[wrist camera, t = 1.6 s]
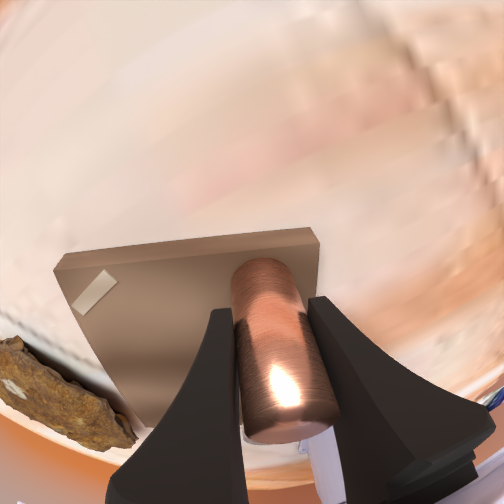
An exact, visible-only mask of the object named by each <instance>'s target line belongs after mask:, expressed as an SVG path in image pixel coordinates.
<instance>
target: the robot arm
mask: <svg viewBox="0 0 504 504" xmlns="http://www.w3.org/2000/svg"><path fill="white" fill-rule="evenodd" d="M307 317H308V320H309V323H310V326H311V328H312V331H313V334H314V337H315V340H316V342H317V345H318V348H319V351H320V354H321V357H322V360H323V362H324V365H325V368H326V371H327V374H328V377H329V380H330V383H331V386H332V389H333V392H334V395H335V398H336V401H337V404H338V407H339V410H340V417H339V419H338V420H337V421H336V423H335V424H334V425H332V426H331V427H330V428H328V429H327V430H325V431H324V432H322V433H320V434H318V435H316V436H313V437H310V438H308V439H304V440H301V442H300V446H299V450H298V451H299V454H304V453H308V455H309V459H310V464H311V468H312V472H313V477H314V481H315V485H316V490H317V493H318V496H319V497H320V499H321V502H322V504H504V447H503V448H501V449H500V450H499V451H497V452H496V453H495V454H493V455H492V456H491V457H489V458H488V459H486V460H485V461H483V462H482V463H480V464H479V465H477V466H476V467H475V466H474V464H473V462H472V461H473V460H474V459H475V458H476V456H475V454H474V451H473V450H474V449H475V448H476V447H478V446H479V445H480V444H481V443H482V442H483V441H485V440H486V439H487V438H488V437H489V436H490V435H491V434H492V433H493V432H494V431H495V428H496V425H495V423H494V421H493V419H492V418H491V416H490V414H489V412H488V410H487V409H486V407H485V406H484V405H481V404H478V403H476V402H473V401H470V400H467V399H464V398H462V397H459V396H457V395H455V394H452V393H450V392H448V391H446V390H444V389H442V388H440V387H438V386H436V385H434V384H432V383H430V382H429V381H427V380H425V379H423V378H422V377H420V376H418V375H416V374H415V373H413V372H412V371H410V370H409V369H407V368H406V367H404V366H403V365H401V364H400V363H398V362H397V361H396V360H394V359H393V358H392V357H390V356H389V355H388V354H386V353H385V352H384V351H383V350H381V349H380V348H379V347H378V346H377V345H375V344H374V343H373V342H372V341H371V340H370V339H369V338H367V337H366V336H365V335H364V334H363V333H362V332H361V331H360V330H359V329H358V328H357V327H356V326H355V325H354V324H353V323H352V322H350V321H349V320H348V319H347V318H346V317H345V316H344V315H343V314H342V312H341V311H340V310H339V309H338V308H337V307H336V306H335V305H334V304H333V303H332V302H331V301H330V300H329V299H328V298H327V297H326V296H321V297H314V298H308V310H307ZM17 504H26V503H23V502H21V501H18V502H17ZM105 504H249V501H248V495H247V487H246V480H245V472H244V464H243V456H242V448H241V439H240V421H239V376H238V365H237V354H236V343H235V332H234V324H233V317H232V309H231V307H230V308H220V309H213V310H212V311H211V313H210V318H209V322H208V325H207V329H206V332H205V335H204V338H203V340H202V343H201V345H200V348H199V350H198V353H197V355H196V358H195V360H194V362H193V364H192V366H191V368H190V370H189V373H188V375H187V377H186V379H185V381H184V383H183V384H182V386H181V388H180V390H179V392H178V393H177V395H176V397H175V398H174V400H173V402H172V403H171V405H170V407H169V408H168V410H167V411H166V413H165V414H164V416H163V417H162V419H161V420H160V421H159V423H158V424H157V426H156V427H155V428H154V430H153V431H152V432H151V433H150V435H149V436H148V437H147V438H146V439H145V441H144V442H143V443H142V444H141V446H140V447H139V448H138V449H137V450H136V451H135V453H134V454H133V455H132V456H131V457H130V458H129V459H128V460H127V461H126V462H125V463H124V464H123V465H122V466H121V467H120V468H119V469H118V470H117V471H116V472H115V473H114V474H113V475H112V476H111V477H110V480H109V484H108V488H107V492H106V499H105Z"/></svg>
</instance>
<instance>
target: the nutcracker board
mask: <svg viewBox="0 0 504 504" xmlns="http://www.w3.org/2000/svg"><path fill="white" fill-rule="evenodd" d="M319 248H320V243H319V241H318V239H317V238H316V236H315V235H314V233H313V231H312V230H311V228H310V227H307V228H296V229H285V230H274V231H263V232H253V233H243V234H233V235H223V236H213V237H204V238H194V239H185V240H176V241H167V242H158V243H149V244H140V245H132V246H123V247H115V248H107V249H99V250H91V251H83V252H75V253H67V254H65V255H64V256H63V257H62V259H61V260H60V261H59V263H58V264H57V266H56V267H55V268H54V270H53V272H54V274H55V276H56V279H57V281H58V283H59V285H60V288H61V290H62V292H63V294H64V296H65V298H66V301H67V303H68V305H69V307H70V309H71V311H72V313H73V315H74V317H75V319H76V320H77V322H78V324H79V326H80V328H81V330H82V332H83V334H84V335H85V337H86V339H87V341H88V342H89V344H90V346H91V348H92V349H93V351H94V353H95V354H96V356H97V358H98V359H99V361H100V363H101V364H102V366H103V368H104V369H105V371H106V372H107V374H108V375H109V377H110V378H111V380H112V381H113V383H114V384H115V386H116V387H117V389H118V390H119V392H120V393H121V395H122V396H123V398H124V399H125V400H126V402H127V403H128V405H129V406H130V407H131V409H132V410H133V411H134V413H135V414H136V415H137V417H138V418H139V419H140V421H141V422H142V423H143V424H144V426H145V427H151V428H155V427H156V426H157V424H158V423H159V421H160V420H161V419H162V417H163V416H164V414H165V413H166V411H167V410H168V408H169V407H170V405H171V403H172V402H173V400H174V398H175V397H176V395H177V393H178V392H179V390H180V388H181V386H182V384H183V383H184V381H185V379H186V377H187V375H188V373H189V370H190V368H191V366H192V364H193V362H194V360H195V358H196V355H197V353H198V350H199V348H200V345H201V343H202V340H203V338H204V335H205V332H206V329H207V325H208V322H209V318H210V313H211V311H212V310H213V309H220V308H230V307H231V309H232V317H233V308H232V295H231V279H232V276H233V274H234V273H235V271H236V270H237V269H238V268H239V267H240V266H241V265H242V264H244V263H245V262H247V261H249V260H252V259H255V258H260V257H269V258H274V259H277V260H279V261H281V262H283V263H284V264H285V265H286V266H287V267H288V268H289V269H290V271H291V274H292V276H293V279H294V282H295V284H296V287H297V290H298V293H299V295H300V298H301V301H302V303H303V306H304V309H305V312H306V314H307V310H308V298H314V297H316V286H317V274H318V262H319ZM233 324H234V320H233ZM241 410H242V406H241V396H240V386H239V421H240V425H242V421H241Z"/></svg>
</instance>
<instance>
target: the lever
mask: <svg viewBox="0 0 504 504" xmlns="http://www.w3.org/2000/svg"><path fill="white" fill-rule="evenodd" d="M231 295H232V308H233V320H234V332H235V343H236V354H237V365H238V376H239V386H240V396H241V406H242V410H241V421H242V430H243V439H244V440H245V441H246V442H247V443H250V444H254V445H271V444H285V443H292V442H297V441H301V440H304V439H308V438H310V437H313V436H316V435H318V434H320V433H322V432H324V431H325V430H327V429H328V428H330V427H331V426H332V425H334V424H335V423H336V421H337V420H338V419H339V417H340V410H339V407H338V404H337V401H336V398H335V395H334V392H333V389H332V386H331V383H330V380H329V377H328V374H327V371H326V368H325V365H324V362H323V360H322V357H321V354H320V351H319V348H318V345H317V342H316V340H315V337H314V334H313V331H312V328H311V326H310V323H309V320H308V317H307V314H306V312H305V309H304V306H303V303H302V301H301V298H300V295H299V293H298V290H297V287H296V284H295V282H294V279H293V276H292V274H291V271H290V269H289V268H288V267H287V266H286V265H285V264H284V263H283V262H281V261H279V260H277V259H274V258H269V257H260V258H255V259H252V260H249V261H247V262H245V263H244V264H242V265H241V266H240V267H239V268H238V269H237V270H236V271H235V273H234V274H233V276H232V279H231Z"/></svg>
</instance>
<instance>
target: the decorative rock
mask: <svg viewBox="0 0 504 504" xmlns="http://www.w3.org/2000/svg"><path fill="white" fill-rule="evenodd" d="M0 398H1V399H2V400H3V401H4V402H5V404H6V405H8V406H11V407H12V408H13V409H15V410H17V411H19V412H21V413H23V414H24V415H26V416H28V417H29V418H30V420H35V421H38V422H40V423H43V424H44V425H46V426H47V427H49V428H51V429H53V430H54V431H55V432H57V433H59V434H61V435H66V436H67V438H69V439H72V440H75V441H76V442H78V443H79V444H80V445H82V446H84V447H86V448H88V449H93V450H95V451H100V452H105V451H106V450H109V449H110V448H111V447H118V448H123V449H127V448H131V447H132V446H133V444H135V443H136V442H135V441H136V440H138V439H139V438H138V437H137V436H136V435H135V433H134V432H133V430H132V428H131V425H130V423H129V421H128V419H127V418H126V417H125V416H123V415H121V414H115V413H114V412H113V410H112V409H111V408H110V406H109V404H108V401H107V399H104V398H100V397H97V396H96V395H95V394H94V393H93V392H89V391H86V390H84V389H83V387H82V386H81V385H80V384H79V383H78V382H76V381H74V380H73V381H71V382H69V383H67V382H66V381H65V380H64V379H63V378H62V376H61V375H60V374H59V373H57V372H56V371H54V370H53V369H51V368H50V367H47V366H44V365H42V364H41V363H40V362H39V361H38V360H37V359H36V357H35V356H33V355H32V354H31V353H30V352H28V349H27V348H25V347H24V344H23V341H22V339H21V338H19V337H18V336H15V337H14V338H7V339H5V340H3V341H2V340H0Z"/></svg>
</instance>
